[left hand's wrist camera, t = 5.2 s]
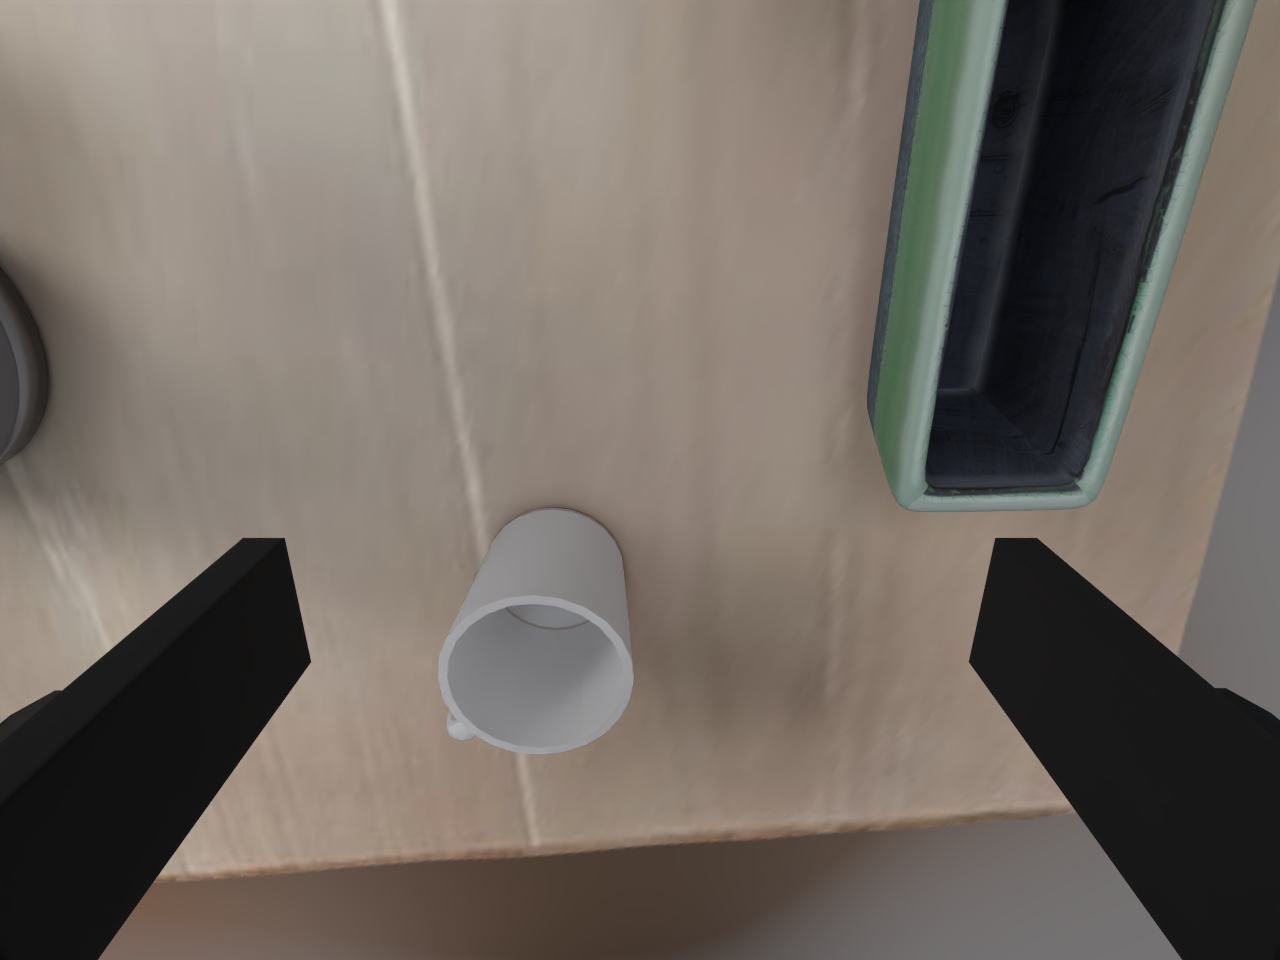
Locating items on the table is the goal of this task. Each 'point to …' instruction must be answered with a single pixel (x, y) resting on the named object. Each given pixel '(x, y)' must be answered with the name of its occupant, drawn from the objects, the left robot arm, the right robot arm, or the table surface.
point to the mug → (541, 638)
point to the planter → (1036, 237)
